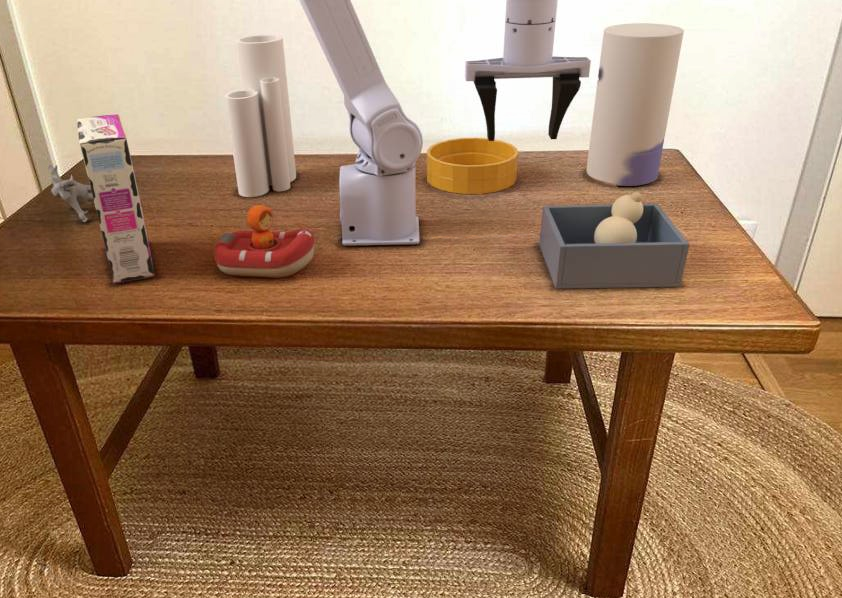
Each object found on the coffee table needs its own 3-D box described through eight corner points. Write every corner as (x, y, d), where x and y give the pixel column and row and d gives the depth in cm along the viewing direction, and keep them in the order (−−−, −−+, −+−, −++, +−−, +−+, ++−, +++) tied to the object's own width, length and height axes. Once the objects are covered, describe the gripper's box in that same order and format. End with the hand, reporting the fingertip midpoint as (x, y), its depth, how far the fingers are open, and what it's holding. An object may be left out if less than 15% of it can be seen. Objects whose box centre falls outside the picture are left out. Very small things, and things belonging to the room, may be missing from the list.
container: (593, 161, 112) (611, 20, 101) (661, 168, 108) (688, 23, 97) (579, 182, 105) (597, 33, 94) (652, 190, 101) (679, 36, 90)
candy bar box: (158, 277, 84) (127, 136, 75) (113, 285, 83) (77, 143, 74) (147, 240, 93) (119, 111, 84) (107, 247, 92) (74, 117, 83)
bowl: (428, 198, 102) (428, 167, 99) (425, 167, 113) (425, 138, 110) (521, 196, 101) (524, 165, 98) (510, 165, 112) (511, 136, 109)
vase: (261, 170, 115) (244, 34, 104) (304, 172, 113) (292, 34, 102) (233, 196, 105) (211, 50, 95) (279, 198, 104) (263, 50, 93)
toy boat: (308, 283, 81) (302, 220, 77) (209, 280, 83) (198, 218, 79) (322, 254, 88) (317, 194, 84) (230, 251, 89) (221, 192, 85)
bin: (555, 288, 78) (560, 246, 75) (539, 244, 88) (542, 205, 85) (680, 286, 77) (689, 244, 75) (650, 242, 87) (657, 203, 84)
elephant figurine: (133, 207, 104) (83, 207, 96) (111, 234, 106) (60, 236, 98) (96, 153, 105) (44, 149, 97) (75, 181, 108) (23, 179, 100)
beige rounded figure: (595, 243, 80) (623, 181, 80) (582, 249, 84) (608, 190, 84) (633, 261, 80) (661, 199, 80) (617, 265, 84) (644, 207, 84)
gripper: (586, 12, 87) (573, 126, 94) (464, 17, 87) (461, 130, 95) (600, 22, 81) (585, 143, 88) (469, 27, 81) (465, 146, 89)
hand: (521, 137), depth 91 cm, fingers open, 7 cm apart
